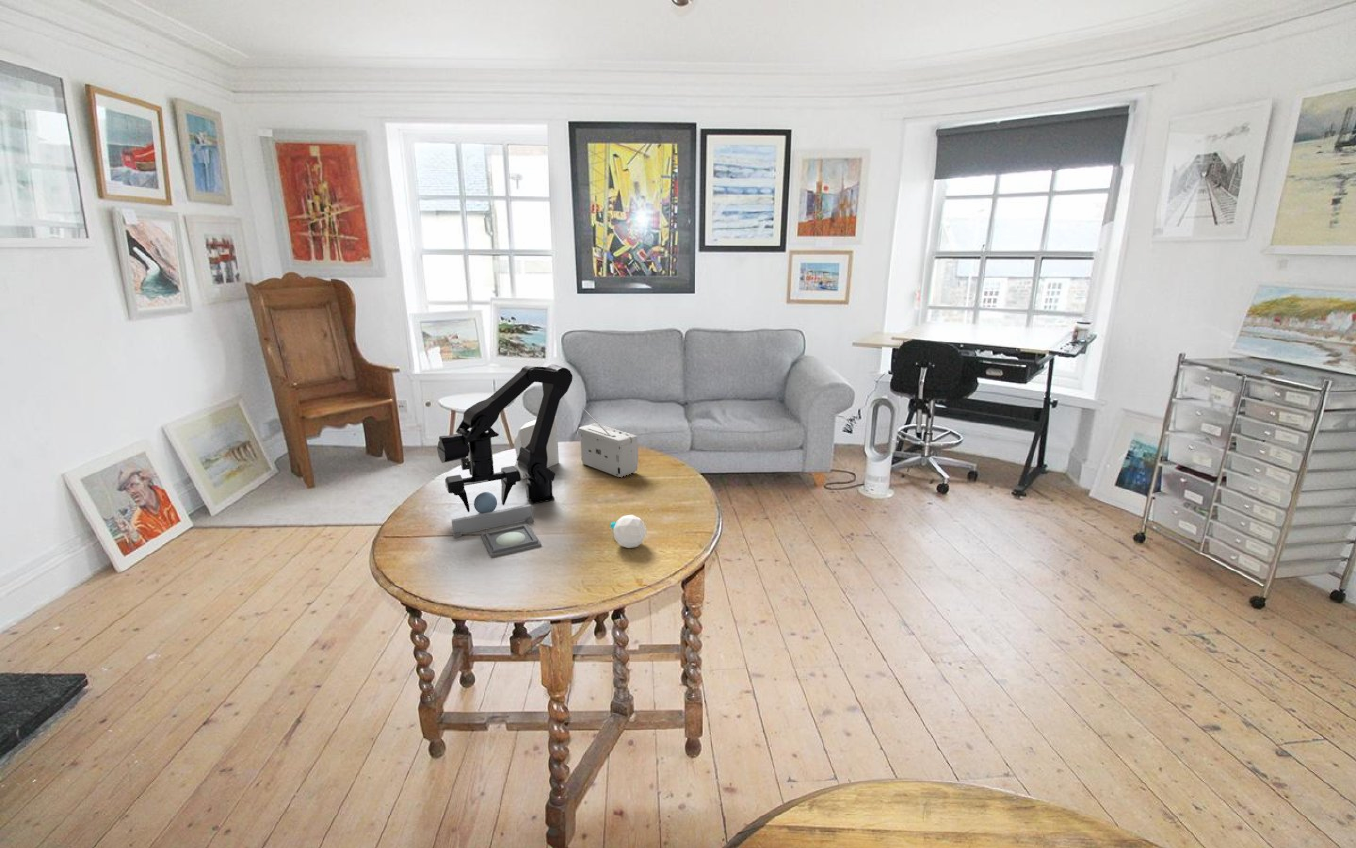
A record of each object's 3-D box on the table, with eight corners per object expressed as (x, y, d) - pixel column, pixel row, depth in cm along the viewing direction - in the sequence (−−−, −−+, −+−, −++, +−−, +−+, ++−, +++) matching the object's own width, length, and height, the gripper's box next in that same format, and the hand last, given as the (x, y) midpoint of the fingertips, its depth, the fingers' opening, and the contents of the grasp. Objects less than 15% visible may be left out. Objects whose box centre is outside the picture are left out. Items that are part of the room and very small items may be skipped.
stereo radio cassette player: (639, 473, 191) (638, 414, 185) (620, 480, 185) (619, 419, 179) (596, 458, 204) (594, 402, 198) (577, 464, 198) (575, 407, 193)
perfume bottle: (621, 546, 138) (592, 533, 146) (645, 555, 143) (616, 543, 152) (634, 514, 139) (605, 504, 148) (657, 525, 145) (628, 514, 153)
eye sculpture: (535, 456, 205) (532, 410, 201) (560, 463, 199) (558, 416, 194) (496, 471, 192) (492, 422, 187) (523, 479, 185) (519, 429, 181)
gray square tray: (528, 526, 155) (528, 522, 154) (541, 546, 145) (541, 541, 144) (481, 536, 149) (480, 532, 149) (491, 557, 139) (491, 553, 139)
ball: (495, 507, 166) (493, 487, 164) (500, 515, 161) (498, 495, 159) (473, 511, 163) (471, 491, 161) (477, 519, 158) (475, 499, 156)
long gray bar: (529, 515, 161) (528, 502, 159) (533, 521, 157) (532, 507, 156) (452, 531, 151) (450, 517, 150) (454, 538, 148) (453, 523, 147)
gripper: (509, 440, 168) (513, 491, 172) (439, 450, 159) (445, 503, 164) (519, 452, 159) (523, 505, 163) (445, 463, 150) (451, 519, 154)
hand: (486, 508), depth 161 cm, fingers open, 9 cm apart
